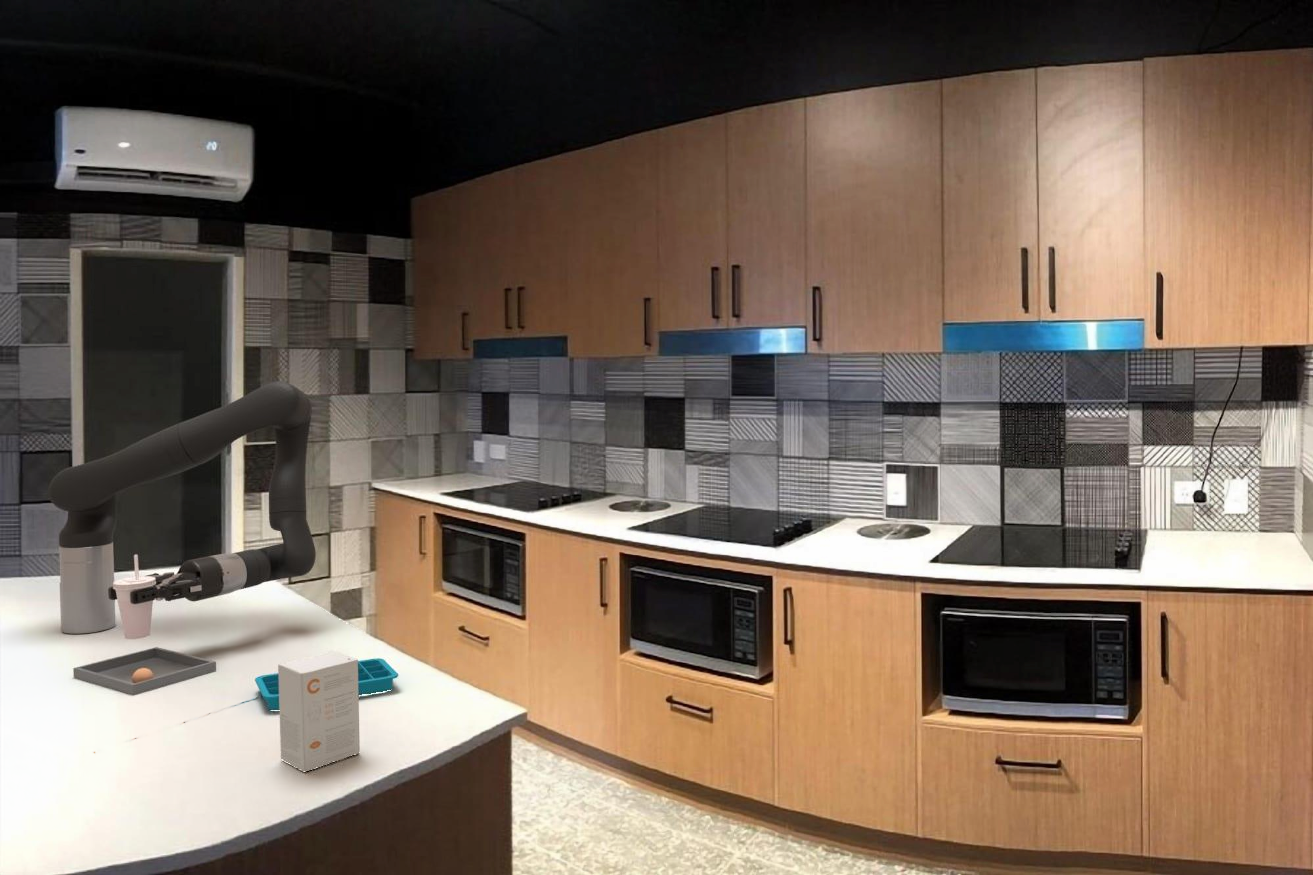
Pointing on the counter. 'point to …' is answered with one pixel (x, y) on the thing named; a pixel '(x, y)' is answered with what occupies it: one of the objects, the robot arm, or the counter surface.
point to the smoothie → (134, 615)
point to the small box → (318, 709)
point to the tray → (160, 661)
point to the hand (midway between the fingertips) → (120, 595)
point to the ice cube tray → (370, 680)
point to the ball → (142, 675)
